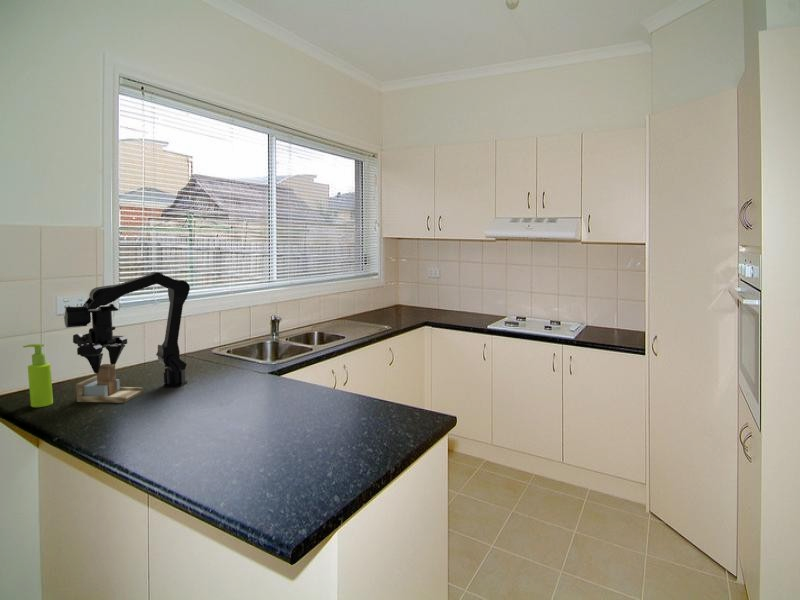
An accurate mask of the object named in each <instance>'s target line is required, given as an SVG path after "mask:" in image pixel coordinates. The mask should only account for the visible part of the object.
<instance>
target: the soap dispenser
mask: <svg viewBox="0 0 800 600" xmlns="http://www.w3.org/2000/svg"><path fill="white" fill-rule="evenodd" d="M42 347H45V344H44V343H30V344H26V345H23V346H22V348H34V353H33V354H32V355H31V364H30V365H28V366H27V374H28V388H29V397H30V398H29V399H30V407H32V408H42V407H47V406H51V405H53V403H54V397H53V394H54V393H53V385H52V384H53V383H52V381H53V380H52V369H51V368H52V366H51V363H49V362H46V354H45V353H43V352H42Z"/></svg>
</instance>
